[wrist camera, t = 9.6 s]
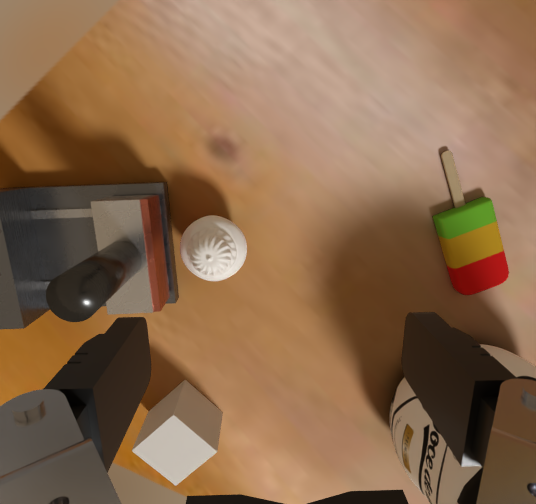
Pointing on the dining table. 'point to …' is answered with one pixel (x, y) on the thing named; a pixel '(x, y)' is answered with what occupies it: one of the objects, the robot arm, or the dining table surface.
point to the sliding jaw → (117, 263)
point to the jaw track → (57, 241)
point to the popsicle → (470, 239)
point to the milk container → (439, 441)
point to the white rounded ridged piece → (213, 248)
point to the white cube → (179, 433)
